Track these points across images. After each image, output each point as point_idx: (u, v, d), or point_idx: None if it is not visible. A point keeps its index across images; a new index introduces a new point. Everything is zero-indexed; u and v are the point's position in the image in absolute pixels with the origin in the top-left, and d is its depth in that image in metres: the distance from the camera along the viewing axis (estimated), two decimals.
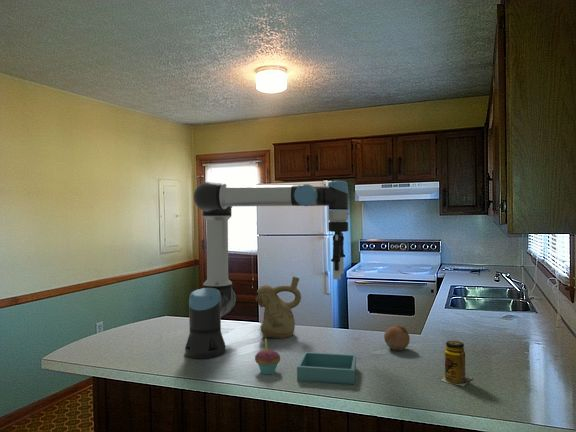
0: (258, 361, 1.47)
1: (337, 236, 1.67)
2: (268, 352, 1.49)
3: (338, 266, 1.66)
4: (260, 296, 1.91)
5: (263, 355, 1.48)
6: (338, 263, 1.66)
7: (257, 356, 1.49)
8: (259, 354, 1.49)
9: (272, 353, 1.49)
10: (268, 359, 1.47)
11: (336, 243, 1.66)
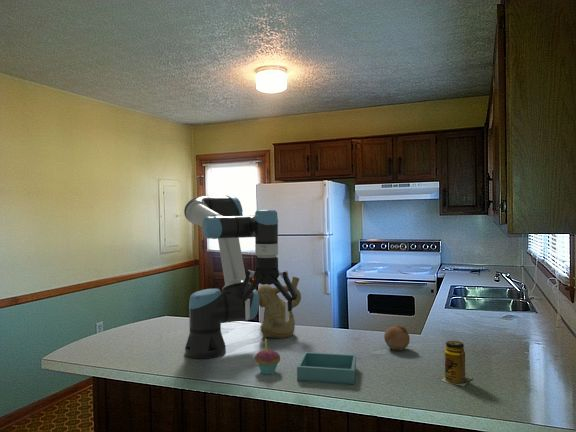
0: (258, 361, 1.47)
1: None
2: (268, 352, 1.49)
3: (244, 305, 1.51)
4: (260, 296, 1.91)
5: (263, 355, 1.48)
6: (244, 302, 1.51)
7: (257, 356, 1.49)
8: (259, 354, 1.49)
9: (272, 353, 1.49)
10: (268, 359, 1.47)
11: None
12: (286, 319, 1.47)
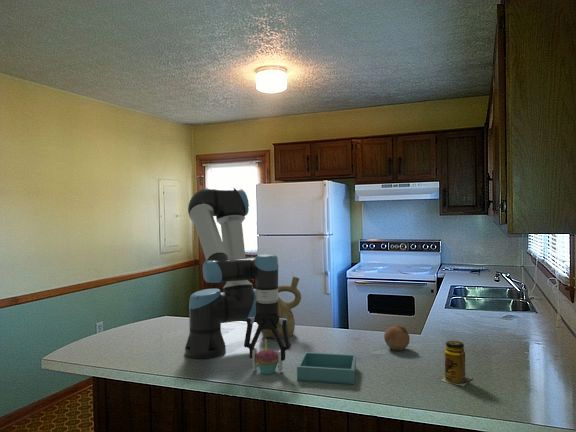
0: (258, 361, 1.47)
1: None
2: (268, 352, 1.49)
3: (251, 354, 1.51)
4: None
5: (263, 355, 1.48)
6: (251, 351, 1.51)
7: (257, 356, 1.49)
8: (259, 354, 1.49)
9: (272, 353, 1.49)
10: (268, 359, 1.47)
11: None
12: (279, 369, 1.48)
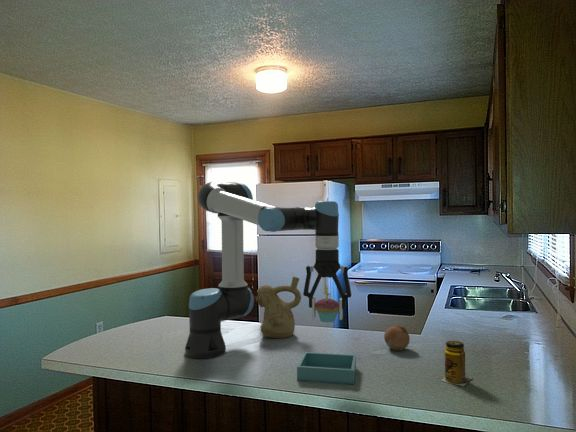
0: (319, 309, 1.44)
1: None
2: (328, 300, 1.46)
3: (310, 303, 1.48)
4: (260, 296, 1.91)
5: (323, 302, 1.45)
6: (310, 299, 1.48)
7: (317, 304, 1.45)
8: (319, 302, 1.46)
9: (333, 301, 1.45)
10: (329, 306, 1.43)
11: None
12: (340, 317, 1.45)
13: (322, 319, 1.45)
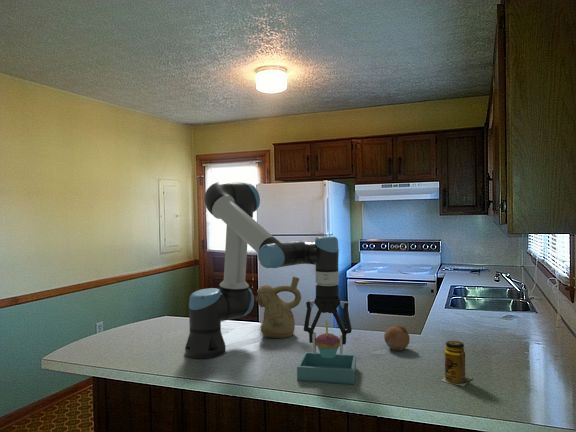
0: (319, 345, 1.44)
1: None
2: (329, 336, 1.46)
3: (311, 338, 1.48)
4: (260, 296, 1.91)
5: (324, 338, 1.45)
6: (310, 335, 1.48)
7: (318, 340, 1.46)
8: (320, 338, 1.46)
9: (333, 337, 1.45)
10: (330, 342, 1.43)
11: None
12: (340, 353, 1.45)
13: (322, 355, 1.45)
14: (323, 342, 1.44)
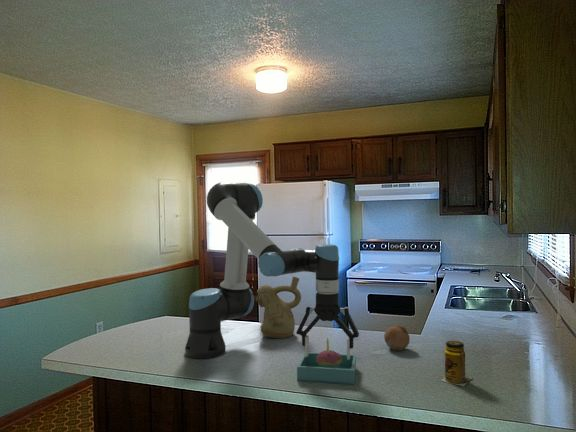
0: (321, 362, 1.44)
1: (306, 308, 1.48)
2: (330, 353, 1.46)
3: (303, 341, 1.48)
4: (260, 296, 1.91)
5: (325, 356, 1.45)
6: (303, 338, 1.48)
7: (319, 357, 1.45)
8: (321, 355, 1.46)
9: (334, 354, 1.46)
10: (331, 360, 1.43)
11: None
12: (348, 357, 1.45)
13: None
14: (324, 360, 1.44)
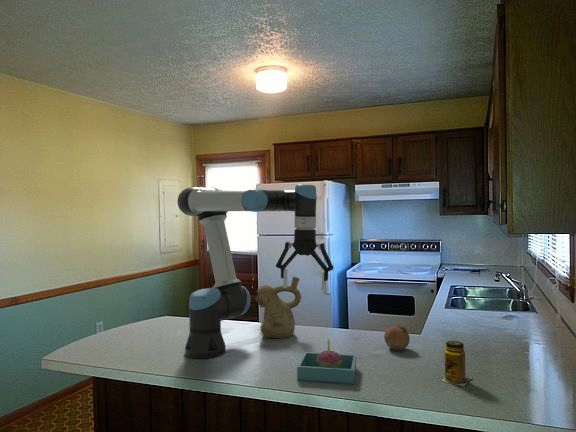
0: (321, 363, 1.44)
1: None
2: (331, 353, 1.46)
3: (282, 274, 1.60)
4: (260, 296, 1.91)
5: (326, 356, 1.45)
6: (282, 271, 1.60)
7: (320, 357, 1.45)
8: (322, 355, 1.46)
9: (335, 354, 1.45)
10: (332, 360, 1.43)
11: None
12: (322, 288, 1.56)
13: None
14: (325, 360, 1.44)
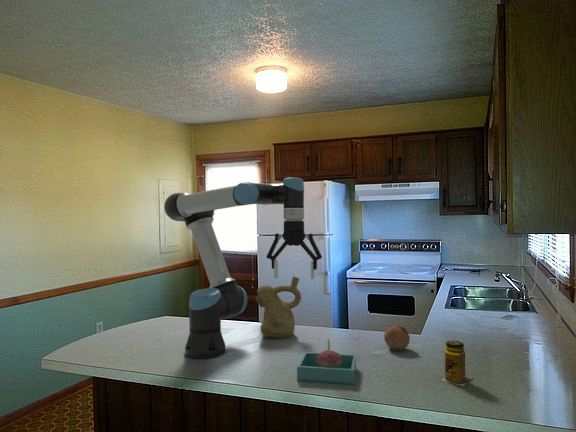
0: (321, 363, 1.44)
1: None
2: (331, 353, 1.46)
3: (273, 264, 1.66)
4: (260, 296, 1.91)
5: (326, 356, 1.45)
6: (273, 261, 1.66)
7: (319, 358, 1.45)
8: (321, 355, 1.45)
9: (335, 354, 1.45)
10: (332, 360, 1.43)
11: (274, 241, 1.67)
12: (311, 276, 1.63)
13: None
14: (325, 360, 1.44)
